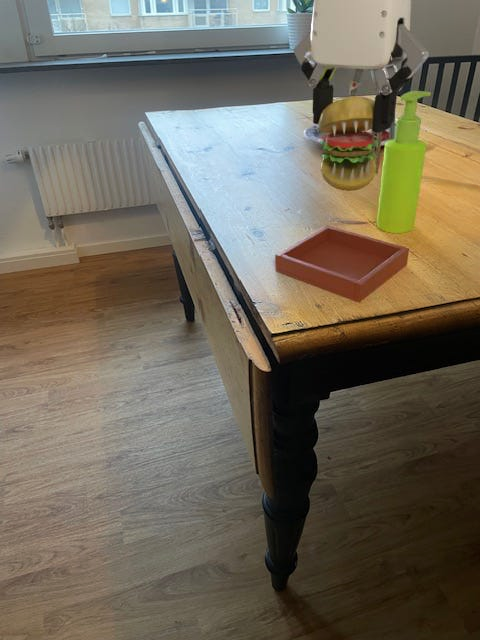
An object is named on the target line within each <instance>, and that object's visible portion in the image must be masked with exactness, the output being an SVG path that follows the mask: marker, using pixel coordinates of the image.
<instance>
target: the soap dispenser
mask: <svg viewBox="0 0 480 640" xmlns="http://www.w3.org/2000/svg"><path fill="white" fill-rule="evenodd" d="M431 94H432V92H431V91H424V90H411V91H408V92H406V93H403V94H402V95H400V101H403V102H404V106H403V114H402V115H400V116H399V117H397V118H396V120H395V123H396V129H395V138H394V139H393V140H390V141H387V142H386V143H385V145H384V150H383V162H382V170H381V178H380V189H379V197H378V207H377V215H376V216H377V217H376V228H378V229H379V230H380V231H382V232H386V233H390V234H404V233H409V232H411V231H413V230H414V228H415V223H416V215H417V210H418V203H419V196H420V189H421V183H422V177H423V170H424V163H425V159H426V158H425V157H426V150H427V143H426V142H425V141H423V140H420V139H419V136H420V131H421V129H420V128H421V123H422V118H421V117H419V116H418V115H416V114H417V108H418V101H419V99H421V98H423V97H430V96H431Z"/></svg>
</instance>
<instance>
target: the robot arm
mask: <svg viewBox="0 0 480 640" xmlns="http://www.w3.org/2000/svg"><path fill="white" fill-rule="evenodd" d="M312 7H313V8H312V17H311V30H310V31H309V33H307V34H306V35H305V36H304V37H303V39H302V40H300V42H299V43H298V44H297V45H295V47H294V49H293V53H294V56H295V58H296V60H297V61H298V63H299V65H300V66H301V71H302V73H303V75H304V76H305V77H306V79H307V80H308V86H309V88H310V89H312V114H313V115H312V123H313V124H314V125H317V124H319V120H320V116H321V113H322V112H323V110H324V109H325V108H326V107H327V106H329V105H330V104H331V103H333V102H334V89H335V88H334V85H333V84H330V82H331V80H332V78H333V77H334V74H335V72H336V70H337V69H338V68H340V69H355V70H356V69H363V70H368V69H373V72H374V74H375V77H376V80H377V83H378V87H379V93H378V94H376V95H375V97H374V101H375V104H374V115H373V126H372V131H373V132H375V133H380V132H382V131H384V130H387V129H389V128H390V127H391V123H392V122H393V121H394V116H395V117H396V107H397V99H398V92H400V91H402V89H403V87H404V86H405V85H406V84H407V83H408V82H409V81H410V80H411V79H412V78H413V77H414V76H415V75H416V73H417V72H418V71H419V69H420V68H421V67H422V66H423V64H424V63H425V62H426V61H427V60H428V58H429V55H430V53H429V52H430V51H429V50H428V48H426V47H425V46H424V45H423V44H422V43H421V41H420V40H419V39H418V38H417V37H416V36H415V35H414V34H413V33H412V32H411V16H412V15H411V14H412V0H313V6H312ZM406 58H407V60H406ZM405 60H406V61H405ZM404 61H405V63H404V64H403V66H402V67H401V68H399V69H398V66H397V64H401V63H403V62H404Z"/></svg>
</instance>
